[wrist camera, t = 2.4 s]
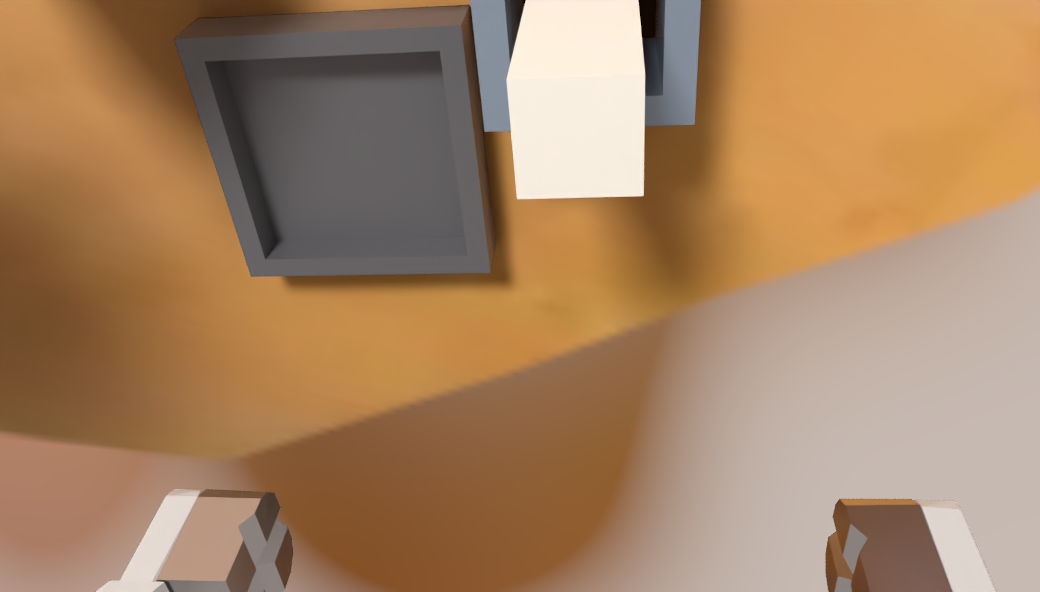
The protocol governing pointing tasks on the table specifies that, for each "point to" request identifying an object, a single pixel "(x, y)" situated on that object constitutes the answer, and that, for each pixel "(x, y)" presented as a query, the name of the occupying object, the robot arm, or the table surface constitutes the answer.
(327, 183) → the tray
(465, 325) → the table surface
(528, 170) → the peg
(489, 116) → the socket
